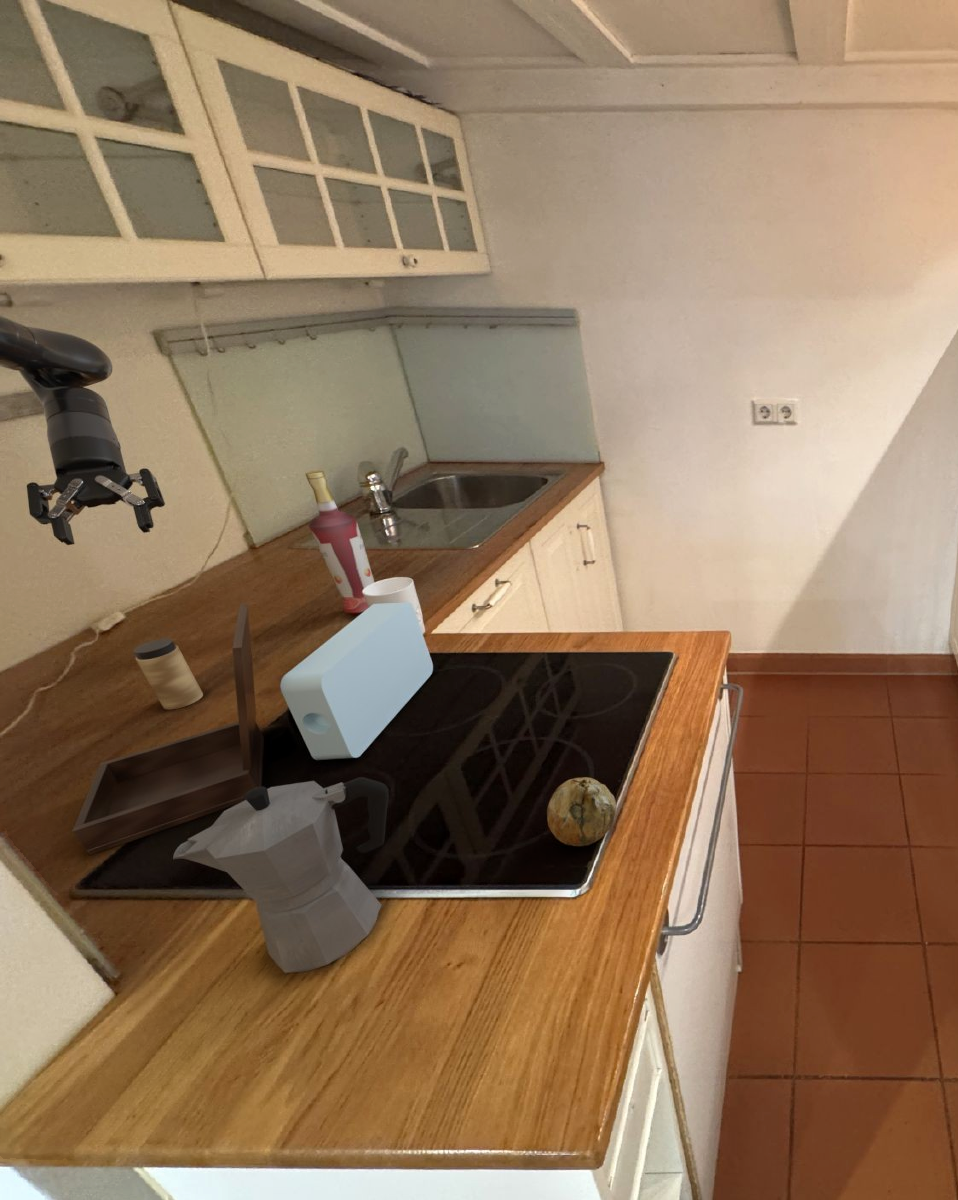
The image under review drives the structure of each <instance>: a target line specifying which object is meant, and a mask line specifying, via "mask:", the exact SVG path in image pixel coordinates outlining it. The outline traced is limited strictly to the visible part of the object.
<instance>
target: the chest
mask: <svg viewBox="0 0 958 1200" xmlns="http://www.w3.org/2000/svg"><path fill="white" fill-rule="evenodd" d="M264 750H265V737H264V735H263V733H262V730H261V729H260V727H259V724H258V723H257V721H256V722H255V734H254V745H253V757H252V768H251V769H248V770H243V765H242V754H241V742H240V731H239V721H236V722H234V723H231V724H227V725H224V726H221V727H217V728H213V729H209V730H206V731H202V732H200V733H196V734H193V735H190V736H186V737H183V738H180V739H176V740H173V741H170V742H165V743H163V744H160V745H157V746H153V747H150V748H146V749H143V750H139V751H137V752H133V753H129V754H126V755H123V756H119V757H116V758H113V759H109V760H106V761H103V762H100V763H99V765H98V768H97V770H96V773H95V776H94V777H93V779H92V782H91V785H90V788H89V790H88V792H87V795H86V797H85V800H84V802H83V805H82V806H81V809H80V812H79V814H78V817H77V819H76V822H75V824H74V826H73V828H72V831H71V832H72V833H73V835H74V837H75V838H76V839H77V840H78V842H79V843H80V844H81V846H82V847H83V849H84V850H85V851H86V853H87V854H88V855H89V856H94V855H96V854H98V853H102V852H105V851H108V850H111V849H113V848H116V847H118V846H119V847H120V846H122V845H125V844H128V843H130V842H134V841H137V840H139V839H142V838H144V837H147V836H151V835H153V834H156V833H160V832H162V831H165V830H168V829H170V828H173V827H176V826H180V825H182V824H185V823H187V822H191V821H193V820H197V819H199V818H202V817H205V816H207V815H210V814H214V813H216V812H220V811H222V810H226V809H229V808H231V807H233V806H235V805H237V804H239V803H241V802H243V801H245V800H246V799H245V798H244V797H243V796H244V795H245V794H246V793H247V792H248V791H250V790H252V789H254V788H256V787H262V784H263V769H264V754H265V753H264V752H265V751H264Z"/></svg>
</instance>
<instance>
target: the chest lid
mask: <svg viewBox="0 0 958 1200" xmlns="http://www.w3.org/2000/svg"><path fill="white" fill-rule="evenodd" d="M235 624H236V625H235V630H234V635H233V642H232V646H231V648H232V661H233V673H234V674H233V675H234V684H235V695H236V696H235V697H236V706H237V707H236V708H237V718H238V722H239V731H240V742H241V754H242V765H243V770H248V769H251V768H252V757H253V745H254V734H255V722H256V723H257V720H256V719H257V708H256V705H257V704H256V696H255V695H256V693H255V682H254V669H253V655H252V643H251V629H250V617H249V605H248V604H239V607H238V612H237V619H236V623H235Z"/></svg>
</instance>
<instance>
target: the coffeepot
mask: <svg viewBox="0 0 958 1200" xmlns="http://www.w3.org/2000/svg"><path fill="white" fill-rule="evenodd" d="M243 797H244V798H245V799H246V800H245V801H243V802H241V803H239V804H236V805H234V806H231V807H228V808H226V809H224V810H223V812H222V813H221V814H220V815H219V817H218V818H217V819H216V820H215V821H214V822H213V824H211V826H209V827H207V828H206V829H204V830H202V831H200V832H198V833H196V834H195V835H193V836H191V837H188V838H187V840H186V841H185V842H182V843H181V844H179V846H177V848H176V849H175V851H174V853H173V857H172V859H173V860H178V859H182V860H183V859H184V860H188V861H190V862H195V863H199V864H201V865H205V866H208V867H210V868H214V869H216V870H219V871H222V872H225V873H227V874H228V875H229V876H230V877H231V878H232V879H233V880H234V881H235V882H236V883H237V884H238V886H240V887H241V889H242V890H243V891H244V892H245V893H246V894H247V895H248V896H249V897H250V898H251V899H252V900H253V901H254V902H255V903H256V911H257V914H258V919H259V922H260V926H261V929H262V934H263V938H264V942H265V947H266V949H267V954H268V955H269V957H270V958H271V960H273V962H274V963H275V964H276V965H277V966H278V967H279V968H280V969H281V970H282V971H283V973H284V974H289V973H302V972H308V971H312V970H316V969H319V968H322V967H325V966H328V965H330V964H332V963H333V962H335V961H338V960H340V959H341V958H343V957H344V956H345V955H347V954H348V953H350V952H352V950H354V949H355V948H356V947H357V946H358V945H360V944H361V943H362V942H363V940H365V939H366V938H367V937H368V936H369V934H370V933H371V932H372V929H373V928H374V926H375V924H376V923H377V920H378V917H379V913H380V909H381V907H382V903H381V902H380V901H379V899H377V898H376V896H375V895H374V894H373V893H372V892H371V891H370V889H369V888H368V887H367V885H366V884H365V883H364V882H363V881H362V880H361V879H360V877H359V876H358V875H357V873H355V871H354V870H353V869H352V868H351V867H350V866H349V864H348V863H346V862H345V861H344V859H342V854H343V852H344V848H343V843H342V838H341V833H340V830H339V825H338V819H337V815H336V812H335V811H336V810H335V809H337V808H339V807H342V806H344V805H346V804H348V803H350V802H351V801H354V800H355V799H358V798H361V797H365V798H368V799H367V803H366V807H367V812H368V816H369V818H368V821H367V825H366V827H367V831H368V834H369V836H370V838H369V839H368V840H367V841H366V842H364V843H362V844H360V845H357V846H356V850H357V851H358V852H359V853H361V854H365V853H368V852H370V851H373V850H376V849H377V848H379V847H381V846H383V845H384V843H385V840H386V839H385V838H386V824H387V814H388V803H389V797H390V796H389V788H388V786H387V785H386V784H384V783H383V782H380V781H377V780H374V779H371V778H367V777H363V776H361V777H357V778H354V779H352V780H349V781H347V782H339V783H336V784H333V785H329V786H326V787H322V786H321V785H320V784H318V783H317V781H315V780H310V781H304V782H295V783H290V784H283V785H276V786H270V787H268V788H267V787H266V786H265V785H264V786H262V785H261V787H256V788H254V789H252V790H250V791H248V792H247V793H246V794H245V795H244V796H243Z"/></svg>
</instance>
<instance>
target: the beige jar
mask: <svg viewBox="0 0 958 1200" xmlns="http://www.w3.org/2000/svg"><path fill="white" fill-rule="evenodd" d="M132 651H133V654H134V655H135V661H136V663H137V664H138V666H139V668H140V670H141V671H142V673H143V675H144V676H145V679H146V680H147V682H148V684H149V686H151V689H152V690H153V692H154V694H155V695H156V698H157V699H158V701H159V703H160V704H161V706H162V708H163V709H164V710H177V709H181V708H184V707H187V706H190V705H192V704H195V703H196V702H198V701H200V699H202V698H203V696H204V693H203V691H202V689H201V687H200V685H199V683H198V681H197V679H196V677H195V676H194V674H193V672H192V670H191V667H190V666H189V664H188V663H187V660H186V658H185V657H184V655H183V653H182V651H181V650H180V648H179V646H178V645H177V644H175V642H174V640H173V639H172V638H159V639H154V640H151V641H147V642H144V643H142V644H140V645H138V646H137V647H135V648H134V649H133V650H132Z"/></svg>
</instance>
